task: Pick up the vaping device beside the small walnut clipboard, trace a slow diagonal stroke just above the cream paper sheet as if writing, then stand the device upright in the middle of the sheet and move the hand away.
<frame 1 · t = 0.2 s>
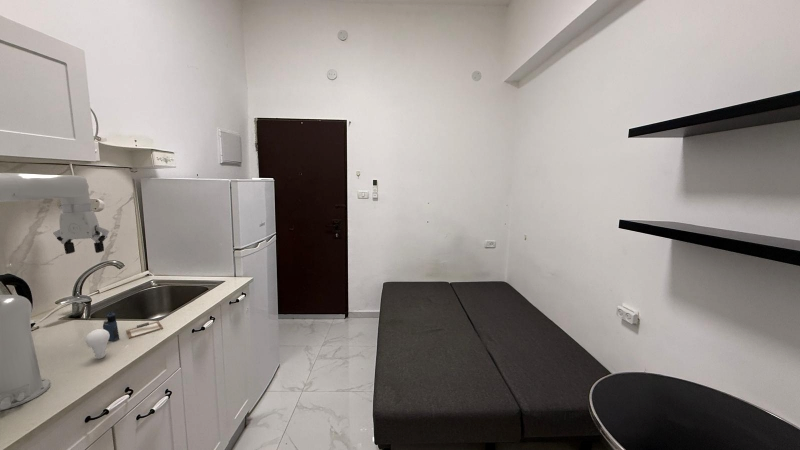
hand: (85, 252, 113), 36 cm above the worktop, tool pointing down, fingers open, 9 cm apart
clipboard: (144, 330, 126), on the worktop
lightbulb: (101, 358, 106), on the worktop
vaping device: (112, 340, 118), on the worktop
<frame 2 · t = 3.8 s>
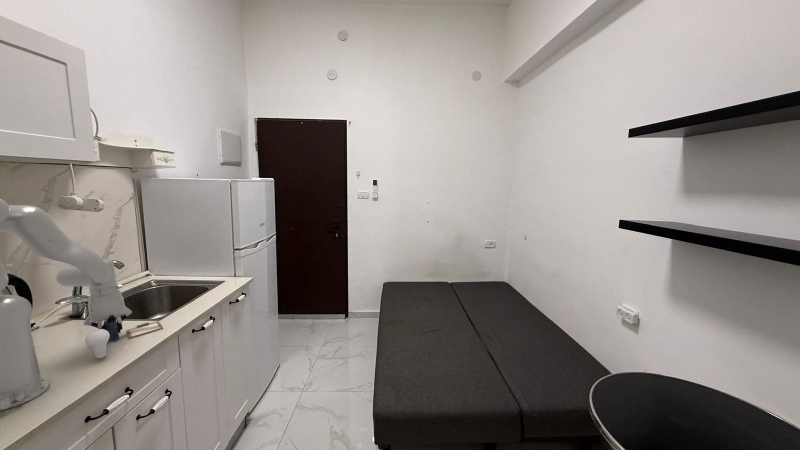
hand: (111, 333, 118), 3 cm above the worktop, tool pointing down, fingers closed on vaping device, 3 cm apart
vaping device: (112, 340, 118), on the worktop, touching gripper
everything else where it was.
when the fingers open (4 cm above the worktop, at t = 10.8 s): vaping device stays where it is, resting on clipboard.
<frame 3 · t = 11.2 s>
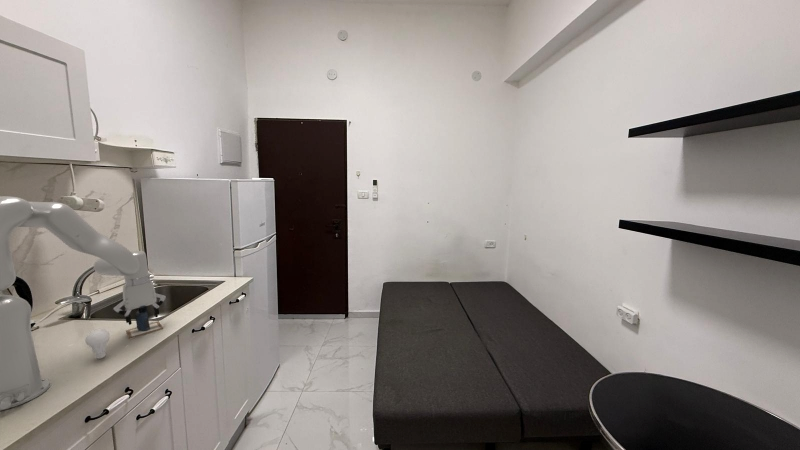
hand: (143, 319, 124), 5 cm above the worktop, tool pointing down, fingers open, 8 cm apart
vaping device: (144, 329, 125), point 1 cm above the worktop, touching clipboard
everything else where it was.
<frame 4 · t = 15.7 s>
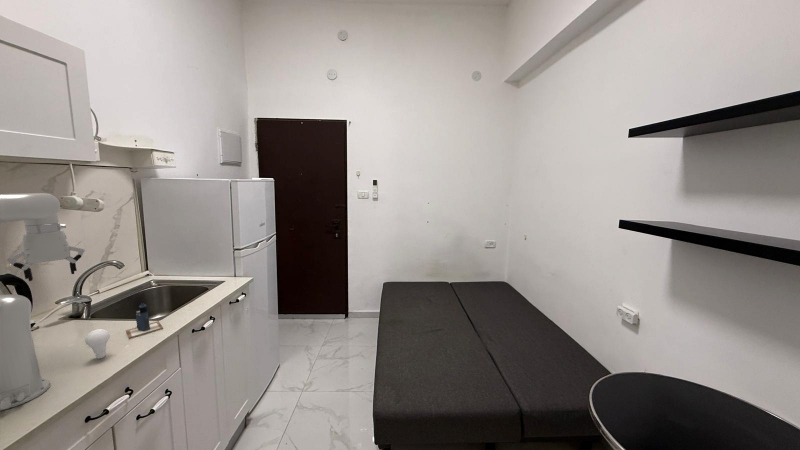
hand: (52, 276, 103), 30 cm above the worktop, tool pointing down, fingers open, 9 cm apart
nothing on the worktop moved.
at the end: vaping device inside the target area on the clipboard (0.4 cm from its centre), point 0.5 cm above the clipboard's base; vaping device tilted 0°; the gripper is holding nothing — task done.
